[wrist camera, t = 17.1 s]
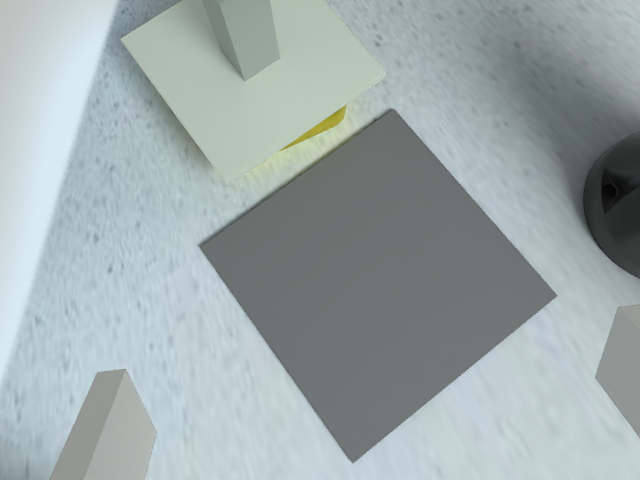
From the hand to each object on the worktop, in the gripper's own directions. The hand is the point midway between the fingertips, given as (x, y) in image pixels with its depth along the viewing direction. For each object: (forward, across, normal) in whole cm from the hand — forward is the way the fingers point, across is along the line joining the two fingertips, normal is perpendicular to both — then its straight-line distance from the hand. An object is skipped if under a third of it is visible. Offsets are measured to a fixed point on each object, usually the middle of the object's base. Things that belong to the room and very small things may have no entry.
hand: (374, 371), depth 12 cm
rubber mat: (+26, +4, -16) cm, 31 cm away
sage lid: (+38, -5, +2) cm, 38 cm away
